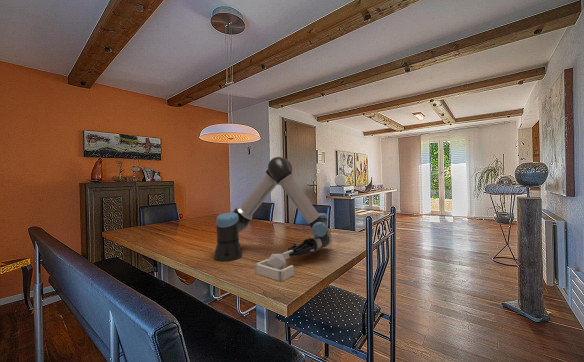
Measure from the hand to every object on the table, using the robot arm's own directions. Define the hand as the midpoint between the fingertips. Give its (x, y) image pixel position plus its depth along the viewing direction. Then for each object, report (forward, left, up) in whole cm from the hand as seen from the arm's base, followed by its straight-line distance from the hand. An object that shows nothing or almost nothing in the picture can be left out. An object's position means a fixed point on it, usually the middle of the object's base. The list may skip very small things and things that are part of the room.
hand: (283, 256), depth 114 cm
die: (-1, -4, -6) cm, 7 cm away
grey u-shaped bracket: (0, -7, -6) cm, 9 cm away
